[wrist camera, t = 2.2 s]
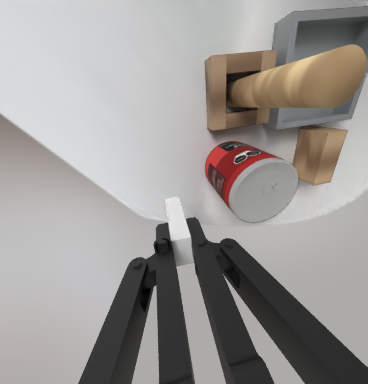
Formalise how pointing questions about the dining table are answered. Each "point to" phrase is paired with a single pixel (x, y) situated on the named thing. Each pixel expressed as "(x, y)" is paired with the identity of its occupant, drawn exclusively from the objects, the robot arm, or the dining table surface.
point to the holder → (216, 88)
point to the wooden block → (318, 153)
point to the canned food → (251, 180)
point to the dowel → (303, 82)
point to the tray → (312, 45)
